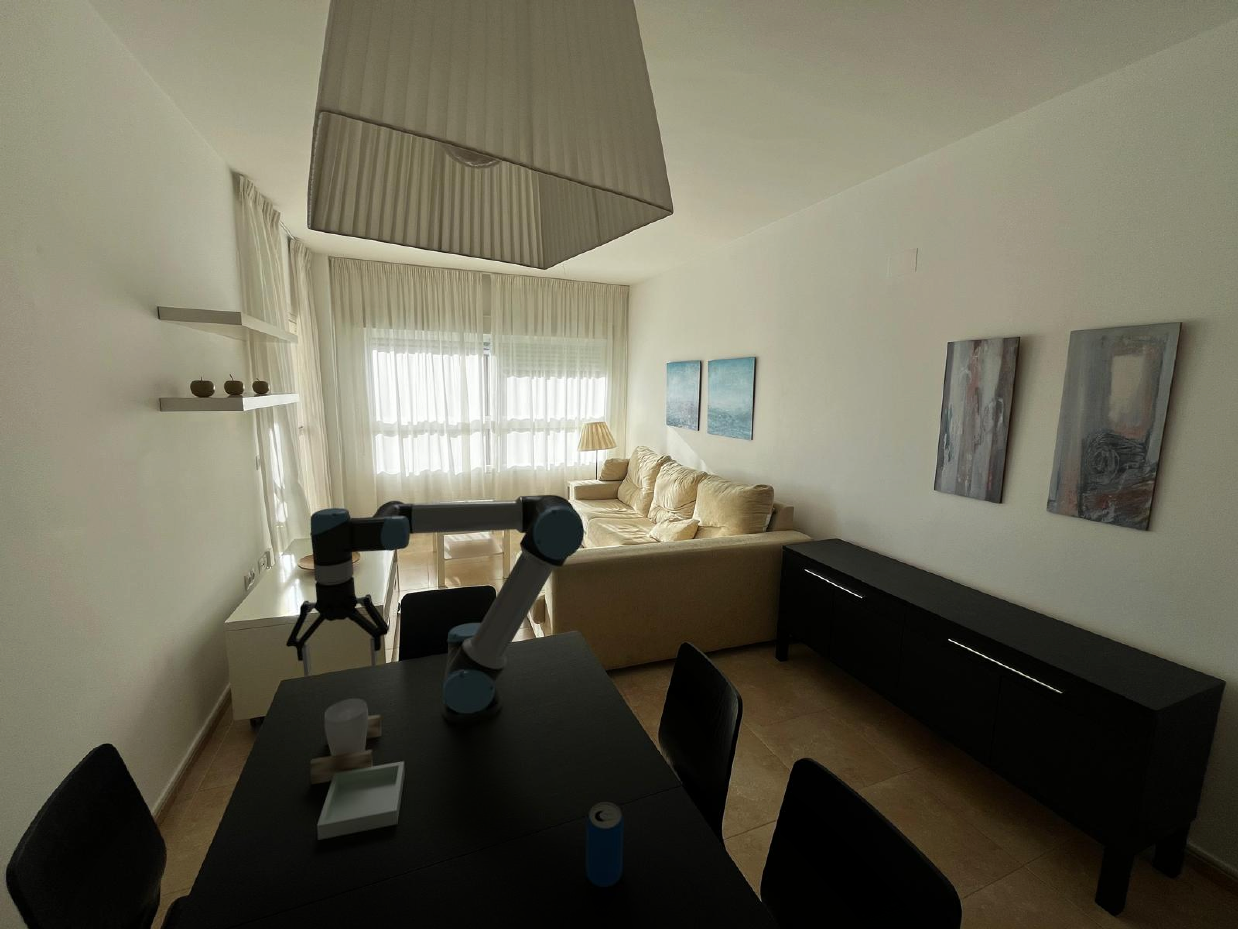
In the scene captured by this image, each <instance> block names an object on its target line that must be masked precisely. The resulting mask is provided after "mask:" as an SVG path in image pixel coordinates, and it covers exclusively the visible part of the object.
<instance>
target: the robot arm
mask: <svg viewBox="0 0 1238 929" xmlns="http://www.w3.org/2000/svg"><path fill="white" fill-rule="evenodd" d="M509 530H511V531H512V530H516V531H518V532H519V533H520V534H524V535H523V537H522V539H521V541H520V542H519V546H520V550H521V553H520V555H519V557H518V559H517V560H516V562H515V564H514V565H513V568H512V569H511V571H510V572H509V574H508V576H507V578H506V580H505V581H504V583H503V585H502V587H500V590H499V592H497V595H496V597H495V599H494V601H493V602H492V603H491V605H490V607H489V609H488V611H487V613H486V614H485V616H484V618H483V620H482V621H481V622H469V623H464V624H463V623H462V624H459V625H457V626H455V627H452V628H451V629H449V632H448V635H447V640H446V641H447V644H448V645H447V646H448V648H447V659H446V665H445V672H444V678H443V682H442V689H441V690H442V696H443V702H442V714H443V717H444V719H445V720H447V721H448V722H449V723H452V724H454V725H459V726H471V725H478V724H482V723H484V722H486V721H489V719H492V718H493V717H495V716H496V714H498V712H499V711H500V710H501V707H502V696H501V693H500V690H499V688H498V684H497V681H498V679H499V677H500V676H501V674H502V672H503V670H504V668H505V667H506V665H507V662H508V661H507V657H506V652H507V650H509V647H510V646H511V644H512V643H513V640H514V638H515V637H516V635H517V633H518V631H519V630H520V628H521V626H522V624H523V623H524V621H525V619H526V617H527V616H528V614H529V612H530V610H531V609H532V607H533V605H534V604H535V602H536V600H537V598H538V597H539V595H540V593H541V591H542V590H543V588H544V586H545V584H546V583H547V581H548V579H549V577H550V576H551V574H552V572H553V570H557V569H559V568H562V567H563V566H564V564H565V563H566V561H567V559H568V557H571V556H572V555H574V554H575V553H576V552H577V551H578V550H579V548H580V547H581V545H582V543H583V540H584V536H585V535H584V534H585V529H584V523H583V520H582V518H581V516H580V513H578V511H577V510H576V509H574V506H573V504H571V502H570V501H569V500H567V499H566V498H564V497H563V496H560V495H556V494H543V495H542V494H541V495H524V496H522V495H520V496H519V497H518V498H517V499H515V500H512V499H511V500H487V501H486V500H485V501H484V500H483V501H453V502H451V501H450V502H448V501H447V502H446V501H445V502H423V503H421V502H419V503H418V502H416V503H414V502H413V503H404V502H402V501H401V500H390V501H387V502H385V503H384V504H382V505H380V506H379V507H378V509H376V511H375V513H374V514H373V516H370V517H351V515H350V510H348V509H346V508H342V507H341V508H339V507H332V508H325V509H320V510H317V511H315V512H313V513H312V515H311V516H310V533H309V534H310V540H311V549H312V557H313V558H312V559H313V571H314V572H313V573H314V574H313V575H314V581H315V583H314V584H315V587H314V588H315V595H316V596H315V597H316V602H310V601H309V600H304V601H303V602H302V603H301V605H300V606H299V616H298V618H297V621H296V622H295V624H294V627H293V628H292V630H291V633H290V635H289V637H288V639H287V641H286V643H285V646H286V647H294V648H296V654H297V655H296V656H297V660H298V662H302V664H303V676H304V677H308V676H309V675H310V673H311V671H312V661H311V660H312V658H311V650H310V648H311V647H310V642H309V641H308V640H309V639H310V638H311V636H312V635H313V634H314V633H315V632H316V630H317V629H319V627H320V625H322V624H323V622H324V621H325V620H326V621H329V622H334V621H337V620H339V621H343V620H346V619H347V618H348V619H349V620H350V621H352V622H354V623H355V624H356V625H358V626H359V627H360V628H362V629H363V631H365V632H366V633H367V634H368V635H370V640H369V643H370V647H369V648H370V658H371V660H370V661H371V667H376V666H377V662H378V655H377V654H378V652H379V651H380V650H381V647H382V639H381V637H382V636H386V635H387V634H388V633H389V632H388V631H389V627H390V626H389V625H388V624H387V622H386V620H385V619H384V618H383V617H382V615H381V613H380V612H379V611H378V608H377V607H376V606H375V605H374V603H373V600H372V595H371V594H369V593H368V594H365V596H362V597H357V596H356V589H355V587H356V586H355V577H354V573H355V572H354V564H353V553H361V552H362V553H363V552H364V553H365V552H381V551H390V552H391V551H392V552H394V551H395V550H404V549H406V548H407V547H408V546H409V544H410V540H411V539H410V538H411V535H412V534H414V535H415V534H434V533H437V534H438V533H457V532H458V533H459V532H484V531H487V532H488V531H489V532H490V531H509ZM358 605H360V606H361V607H362V608H364V609H365V611H366V613H367V614H368V615H369V617H370V619H371V620H372V621H373V622H374V623H373V622H372V621H370V620H369V619H368V618H367V617H365V615H363V614H362V613H361V612H360V610H358V608H357V606H358ZM314 609H315V611H317V613H319V615H318V616H317V618H316V619H315V620H314V621H313V622H312V623H311V624H310V626H309V627H308V628H307V629H306V630H305V632H304V633H303V634H302V636H301V637H300V638H297V637H298V636H299V634H300V631H301V629H302V627H303V625H304V623H305V621H306V618H308V617H307V616H308V614H310V613H312V611H313V610H314ZM307 641H308V642H307Z"/></svg>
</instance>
